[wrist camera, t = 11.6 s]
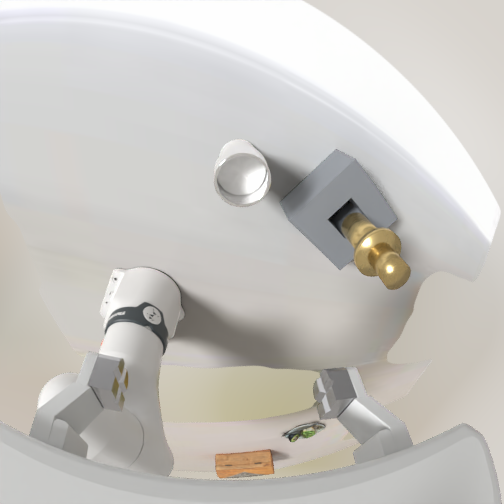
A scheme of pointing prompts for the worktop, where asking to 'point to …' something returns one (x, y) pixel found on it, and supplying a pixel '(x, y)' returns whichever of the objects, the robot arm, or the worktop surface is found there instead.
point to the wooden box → (244, 464)
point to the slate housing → (335, 205)
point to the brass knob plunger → (376, 251)
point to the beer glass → (241, 174)
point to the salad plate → (303, 431)
